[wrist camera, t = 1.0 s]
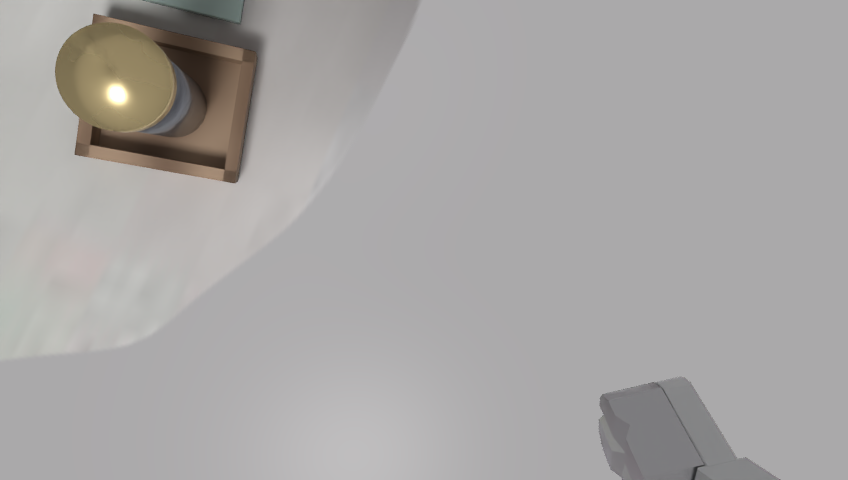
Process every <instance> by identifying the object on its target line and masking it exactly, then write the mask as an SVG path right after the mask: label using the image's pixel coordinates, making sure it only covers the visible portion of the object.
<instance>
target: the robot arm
mask: <svg viewBox="0 0 848 480" xmlns="http://www.w3.org/2000/svg"><path fill="white" fill-rule="evenodd" d="M600 408H601V410H602V412H603V416H602V417H601V418H600V419H599V434H600V438H601V444H602V447H603V450H604V453H605V456H606V459H607V461H608V464H609V466H610V469H611V470H612V471H614V472H615V473H616V474H618V475H619V476H621V477H622V480H780V479H778V478H777V477H775V476H774V475H772V474H771V473H769V472H768V471H766V470H765V469H763V468H762V467H760V466H758V465H757V464H755V463H753V462H752V461H751V460H749V459H748V458H746V457H745V458H739V459H737V457H736V456H735V454H734V452H733V451H732V449H731V447H730V446H729V444H728V443H727V441H726V439H725V438H724V436H723V434H722V433H721V431H720V430H719V428H718V426H717V425H716V423H715V421H714V420H713V418H712V417H711V415H710V413H709V412H708V410H707V409H706V407H705V405H704V404H703V402H702V400H701V399H700V398H699V395H698V394H697V392H696V391H695V389H694V387H693V386H692V384H691V382H689V381H688V380H687V379H686V378H684V377H678V378H673V379H669V380H664V381H660V382H655V383H654V382H652V383H648V384H644V385H640V386H636V387H631V388H627V389H623V390H619V391H614V392H610V393H606V394H603V395H602V396H601V397H600Z"/></svg>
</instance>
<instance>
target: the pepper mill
mask: <svg viewBox="0 0 848 480" xmlns="http://www.w3.org/2000/svg"><path fill="white" fill-rule="evenodd" d="M55 76H56V82H57V87H58V89H59V92H60V94H61V96H62V98H63V100H64V102H65V103H66V104H67V106H68V107H69V108H70V109H71V110H72V112H73V113H75V114H76V115H77V116H78V117H79V118H81V119H82V120H84V121H85V122H87V123H89V124H91V125H92V126H95V127H98V128H101V129H105V130H110V131H116V132H141V133H147V134H153V135H159V136H165V137H172V138H177V137H183V136H186V135H189V134H191V133H193V132H194V131H195V130H197V129H198V128H199V127H200V125H201V124H202V123H203V121H204V119H205V116H206V112H207V102H206V98H205V95H204V93H203V90H202V89H201V87H200V86H199V85H198V84H197V83H196V82H195V81H194V80H193V79H192V78H191V77H190V76H189V75H187V74H186V73H185V72H184V71H183V70H181V69H180V68H179V67H178V66H177V65H176V64H174V63H173V62H172V61H171V60H170V59H169V58H168V56H167V55H166V54H165V52H164V51H163V50H162V49H161V48H160V47H159V46H158V45H157V44H156V43H155V42H154V41H153V40H151V39H150V38H149V37H148V36H146V35H145V34H144V33H142V32H140V31H139V30H137V29H135V28H132V27H130V26H127V25H124V24H119V23H111V22H104V23H96V24H92V25H89V26H86V27H84V28H82V29H80V30H78V31H77V32H75V33H74V34H72V35H71V36H70V37H69V38H68V39H67V40H66V42H65V43H64V44H63V46H62V48H61V49H60V51H59V54H58V57H57V61H56V67H55Z"/></svg>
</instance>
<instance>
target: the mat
mask: <svg viewBox="0 0 848 480" xmlns="http://www.w3.org/2000/svg"><path fill="white" fill-rule="evenodd" d="M143 1H147V2H151V3H155V4H160V5H164V6H168V7H172V8H176V9H180V10H184V11H188V12H192V13H196V14H200V15H205V16H209V17H213V18H217V19H221V20H225V21H229V22H233V23H237V24H240V23H241V17H242V10H243V4H244V0H143Z"/></svg>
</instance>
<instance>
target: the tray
mask: <svg viewBox="0 0 848 480" xmlns="http://www.w3.org/2000/svg"><path fill="white" fill-rule="evenodd" d="M104 22H111V23H119V24H124V25H127V26H130V27H132V28H135V29H137V30H139V31H140V32H142V33H144V34H145V35H146V36H148V37H149V38H150V39H151V40H153V41H154V42H155V43H156V44H157V45H158V46H159V47H160V48H161V49H162V50H163V51H164V52H165V54H166V55H167V56H168V58H169V59H170V60H171V61H172V62H173V63H174V64H176V65H177V66H178V67H179V68H180V69H181V70H183V71H184V72H185V73H186V74H187V75H189V76H190V77H191V78H192V79H193V80H194V81H195V82H196V83H197V84H198V85H199V86H200V87H201V89H202V90H203V93H204V95H205V98H206V102H207V112H206V116H205V119H204V121H203V123H202V124H201V125H200V127H199V128H198V129H197V130H195V131H194V132H193V133H191V134H189V135H186V136H183V137H177V138H172V137H165V136H159V135H153V134H147V133H141V132H116V131H110V130H105V129H101V128H98V127H95V126H92V125H91V124H89V123H87V122H85V121H84V120H82V119H81V118H79V125H78V133H77V140H76V148H75V155H79V156H85V157H90V158H96V159H101V160H107V161H113V162H118V163H124V164H130V165H135V166H141V167H146V168H152V169H158V170H163V171H169V172H174V173H180V174H186V175H191V176H197V177H202V178H208V179H214V180H219V181H225V182H231V183H236V182H238V176H239V169H240V163H241V157H242V151H243V145H244V138H245V132H246V126H247V120H248V114H249V107H250V101H251V95H252V89H253V83H254V76H255V70H256V64H257V54H256V52H255V51H251V50H246V49H242V48H238V47H234V46H229V45H225V44H221V43H217V42H212V41H208V40H204V39H200V38H195V37H191V36H187V35H183V34H178V33H174V32H170V31H165V30H161V29H157V28H153V27H148V26H144V25H140V24H136V23H131V22H127V21H123V20H119V19H114V18H110V17H106V16H102V15H97V14H93V21H92V24H96V23H104Z"/></svg>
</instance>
